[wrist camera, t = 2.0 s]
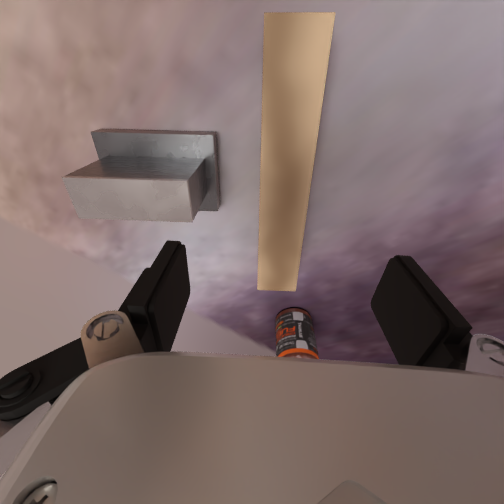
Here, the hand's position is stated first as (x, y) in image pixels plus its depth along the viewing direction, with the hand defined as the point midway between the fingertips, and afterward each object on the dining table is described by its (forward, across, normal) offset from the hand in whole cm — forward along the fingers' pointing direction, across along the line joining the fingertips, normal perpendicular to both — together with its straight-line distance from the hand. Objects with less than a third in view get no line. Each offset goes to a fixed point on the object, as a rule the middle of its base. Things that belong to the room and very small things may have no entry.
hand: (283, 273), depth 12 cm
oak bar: (+19, -1, +1) cm, 19 cm away
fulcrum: (+19, +12, +1) cm, 22 cm away
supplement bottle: (+19, -6, +25) cm, 32 cm away
